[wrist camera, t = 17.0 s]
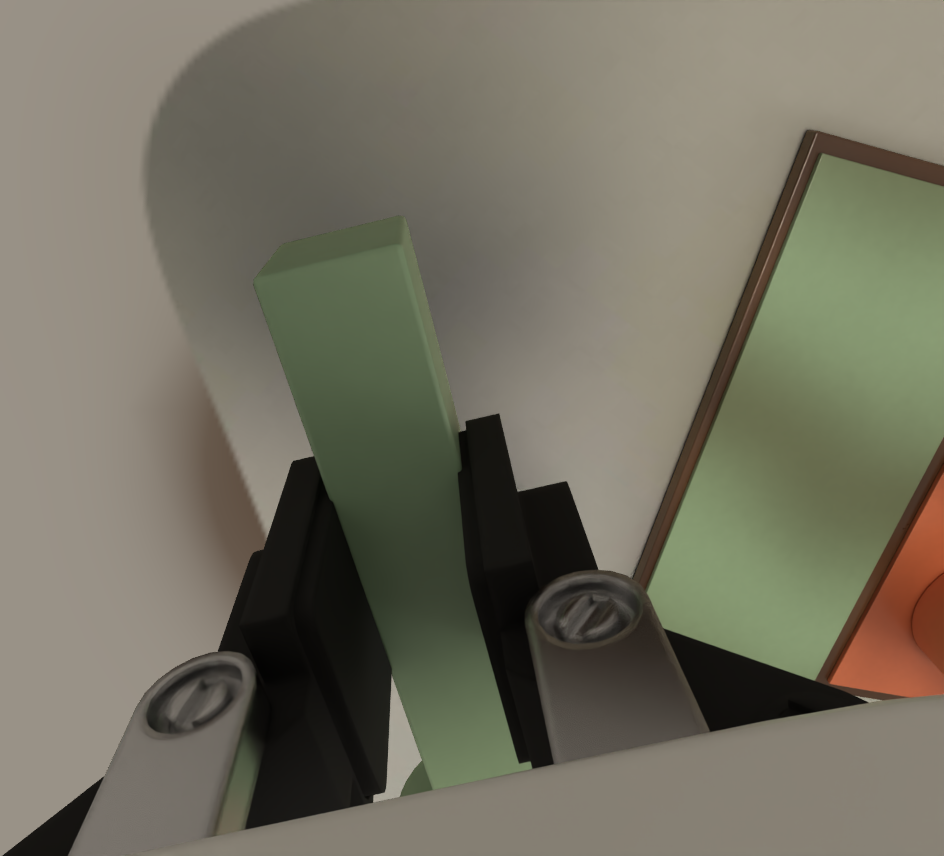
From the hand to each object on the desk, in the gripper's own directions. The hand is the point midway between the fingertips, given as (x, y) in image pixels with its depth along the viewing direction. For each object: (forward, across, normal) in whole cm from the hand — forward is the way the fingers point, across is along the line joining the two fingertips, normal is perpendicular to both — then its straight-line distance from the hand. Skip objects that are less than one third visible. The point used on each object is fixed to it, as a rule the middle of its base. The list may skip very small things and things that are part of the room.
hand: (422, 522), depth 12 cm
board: (+12, -15, +9) cm, 21 cm away
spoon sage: (+1, 0, +2) cm, 3 cm away
